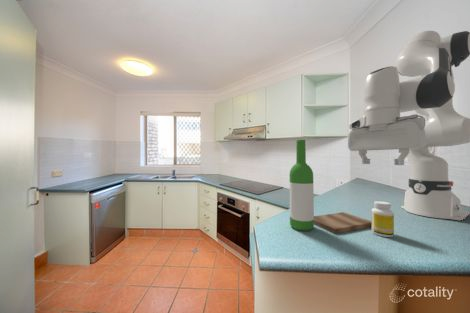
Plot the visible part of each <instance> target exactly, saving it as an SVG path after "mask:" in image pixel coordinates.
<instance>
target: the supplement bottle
mask: <svg viewBox="0 0 470 313" xmlns="http://www.w3.org/2000/svg"><path fill="white" fill-rule="evenodd" d="M391 206H392V204H391V203H390V202H387V201H382V200H381V201H380V200H378V201H377V200H376V201H374V204H373V207H374V208H371V210H370V211H371V221H372V227H371V232H372V233H373V234H374V235H377V236H379V237H384V238H393V237H394V235H395V230H394V228H395V223H394V220H395V218H394V212H393V210H391V208H392V207H391Z"/></svg>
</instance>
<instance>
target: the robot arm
mask: <svg viewBox="0 0 470 313" xmlns="http://www.w3.org/2000/svg"><path fill="white" fill-rule="evenodd" d="M468 57H470V31H468V30H466V31H465V30H464V31H463V30H462V31H458V32H454V33H452V34H450V35H447V36H443V37H441V35H440V34H439V32H437V31H434V30H423V31H422V32H419V33H417V34H416V35H414V36H413V37H412V38H410V39H409V40H408V42H407V43H406V44H405V45H404V47H403V48H402V49H401V50H400V52H399V54H398V56H397V58H396V60H395V66H393V65H392V66H385V67H382V68H379V69H376V70H373V71H371V72H370V73H369V74H368V75H366V76H365V82H364V89H363V102H364V105H365V108H364V111H363V116H361V117H359V118H357V119H356V120H354V121H352V122H351V123H349V125H348V128H349V130H350V131H349V132H348V137H347V138H348V139H347V148H348V150H349V151H350V152H351V151H352V152H358V155H359V156H360V158H361V162H362V165H371V158H368V157H367V154H368V151H385V150H386V151H388V150H390V151H392V150H398V153H399V155H398V157H397V158H394V160H393V161H394V163H393V164H394V165H395V166H404V165H405V159H407V161H408V166H409V179H408V181H407V182H408V183H407V184H408V189H407V190H405V194H404V203H403V205H401V206H400V208H401V209H403V210H404V211H406V212H408V213H410V214H414V215H418V216H422V217H428V218H435V219H442V220H443V219H445V220H454V221H461V220H462V221H464V220H465V219H467V218H468V217H469V216H470V215H469V214H470V211H467V210H462V204H461V203H462V202H461V199H460V198H459V197H457V195H456V194H454V192H453V191H452V187H453V186H454V181H451V180H450V181H449V164H448V162H447V160H446V159H444V158H442V157H440V156H437V155H434V154H432V153H431V152H430V150H429V148H436V147H437V148H438V147H452V146H453V147H454V146H460V145H464V144H470V117H466V116H463V115H461V114H460V113H458V112H457V111H456V110H455V108H454V105H453V97H454V95H455V91H456V90H455V89H456V84H455V80H454V78H455V77H454V73H453V68H452V67H453V66H454V68H458V67H459V66H460V65H461V63H462V62H464V61H466V60H467V58H468ZM399 76H404V77H408V78H412V77H414V78H412V79H408V80H405V81H402V82H401V81H400V77H399ZM413 111H414V112H415V113H416V114H415V113H414V114H410V115H407V116H406V115H405V116H401V113H405V112H413ZM424 116H425V117H428V120H426V118H425V117H424ZM468 215H469V216H468ZM467 216H468V217H467ZM466 217H467V218H466ZM463 219H464V220H463Z"/></svg>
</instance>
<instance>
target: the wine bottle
mask: <svg viewBox="0 0 470 313" xmlns="http://www.w3.org/2000/svg"><path fill="white" fill-rule="evenodd" d="M295 143H296V148H295V149H296V151H295V152H296V157H295V158H296V163H295V164H294V165H292V167H291V169H290V170H289V225H290V227H291V228H293V229H295V230H298V231H303V232H304V231H306V232H308V231H311V230H313V228H314V226H315V224H314V216H315V215H314V214H315V212H314V211H315V210H314V207H315V206H314V205H315V204H314V203H315V202H314V199H315V198H314V195H315V194H314V193H315V192H314V172H313V169H312V168H311V166H310V165H309V164H308V163H307V162H306V161H307V156H306V151H307V150H306V140H305V139H296V142H295Z"/></svg>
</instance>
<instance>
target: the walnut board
mask: <svg viewBox="0 0 470 313" xmlns="http://www.w3.org/2000/svg"><path fill="white" fill-rule="evenodd" d="M314 226H317V227H318V228H322V229H324V230H326V231H327V232H329V233H332V234H334V235H335V234H336V235H337V234H343V233H347V232H352V231H357V230H363V229H369V228H372V220H369V219H366V218H362V217H359V216H356V215H353V214H350V213H348V212H345V211H343V212H342V211H340V212H334V213H328V214H322V215H320V214H319V215H314Z"/></svg>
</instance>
